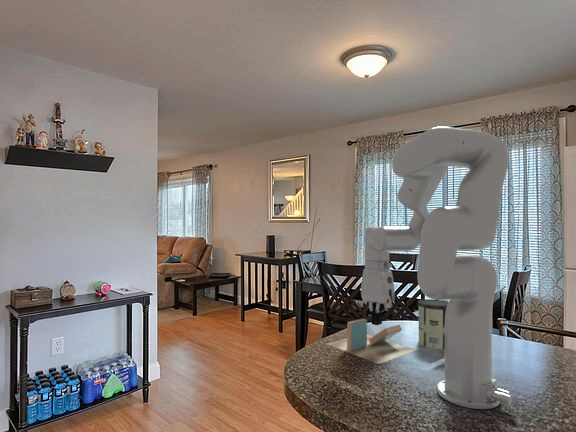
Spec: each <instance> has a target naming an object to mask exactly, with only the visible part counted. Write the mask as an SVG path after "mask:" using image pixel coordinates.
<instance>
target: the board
mask: <svg viewBox="0 0 576 432" xmlns="http://www.w3.org/2000/svg"><path fill="white" fill-rule="evenodd" d="M373 336H374V335H370V334H367V346H366V347H362V348H359V349H356V350H353V351H350V350H347V338H344V339H340V340H337V341H332V342H329V343H326V345H327V346H331V347H333V348H335V349H338V350H341V351H344V352H346V353H348V354H349V353H350V354H351V355H354V356H356V357H360V358H362V359H365V360H367V361H370V362H373V363H375V364H378V365H380V364H383V363H387V362H388V361H391V360H394V359H397V358H399V357H402V356H405V355H408V354H410V353H413V352H416V351H417V349H416V348H413V347H409V346H405V345H402V344H400V343H396V342H392V341H390V340H386V341H384V342H380V343H377V344H374V345H371V344H370V342H369V339H370V338H372V337H373Z"/></svg>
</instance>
